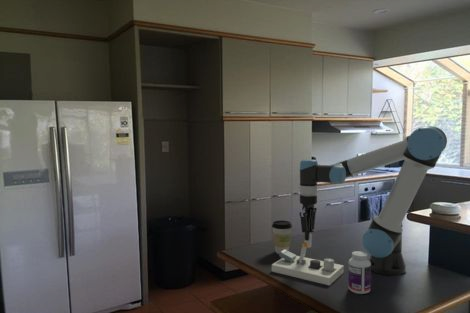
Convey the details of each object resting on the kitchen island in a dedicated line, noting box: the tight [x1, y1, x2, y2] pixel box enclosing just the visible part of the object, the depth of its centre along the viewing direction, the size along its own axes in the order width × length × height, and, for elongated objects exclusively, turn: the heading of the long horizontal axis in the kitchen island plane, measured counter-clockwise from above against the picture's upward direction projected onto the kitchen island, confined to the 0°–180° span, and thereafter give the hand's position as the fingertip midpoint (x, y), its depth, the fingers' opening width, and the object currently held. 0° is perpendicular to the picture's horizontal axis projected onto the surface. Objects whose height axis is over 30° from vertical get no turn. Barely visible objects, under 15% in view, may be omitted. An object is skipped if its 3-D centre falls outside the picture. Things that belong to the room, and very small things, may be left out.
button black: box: [310, 259, 321, 270], centre depth 161 cm, size 4×4×4 cm
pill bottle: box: [347, 250, 372, 295], centre depth 144 cm, size 8×8×14 cm
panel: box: [271, 255, 345, 286], centre depth 163 cm, size 26×16×5 cm, turn 55°
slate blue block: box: [278, 249, 297, 262], centre depth 168 cm, size 6×4×2 cm
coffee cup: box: [271, 219, 293, 255], centre depth 188 cm, size 10×10×15 cm
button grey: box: [323, 258, 335, 272], centre depth 157 cm, size 4×4×4 cm
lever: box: [299, 242, 309, 262], centre depth 166 cm, size 3×3×9 cm
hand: (308, 246), depth 170 cm, fingers closed
